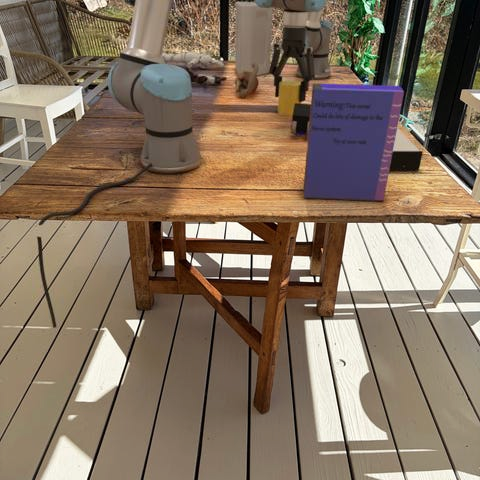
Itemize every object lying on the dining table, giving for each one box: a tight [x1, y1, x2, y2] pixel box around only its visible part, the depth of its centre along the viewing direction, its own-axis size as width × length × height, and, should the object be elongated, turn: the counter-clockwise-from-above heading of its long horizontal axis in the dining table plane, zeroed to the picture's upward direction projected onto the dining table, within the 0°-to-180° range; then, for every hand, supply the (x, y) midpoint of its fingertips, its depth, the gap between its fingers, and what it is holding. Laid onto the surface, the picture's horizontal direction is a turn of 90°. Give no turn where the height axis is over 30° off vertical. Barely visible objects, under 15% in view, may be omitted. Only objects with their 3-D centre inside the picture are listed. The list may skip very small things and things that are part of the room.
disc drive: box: [389, 127, 424, 172], centre depth 128 cm, size 18×22×5 cm
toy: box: [162, 51, 225, 70], centre depth 222 cm, size 24×25×7 cm
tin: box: [277, 80, 302, 117], centre depth 162 cm, size 8×8×10 cm
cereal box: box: [302, 83, 405, 202], centre depth 102 cm, size 17×5×24 cm, turn 86°
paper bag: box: [234, 1, 274, 77], centre depth 210 cm, size 19×15×28 cm
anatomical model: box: [234, 63, 260, 99], centre depth 181 cm, size 13×9×15 cm
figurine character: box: [290, 103, 311, 140], centre depth 143 cm, size 7×8×15 cm
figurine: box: [174, 64, 228, 85], centre depth 193 cm, size 24×8×30 cm
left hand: (290, 98), depth 162 cm, fingers open, 9 cm apart
